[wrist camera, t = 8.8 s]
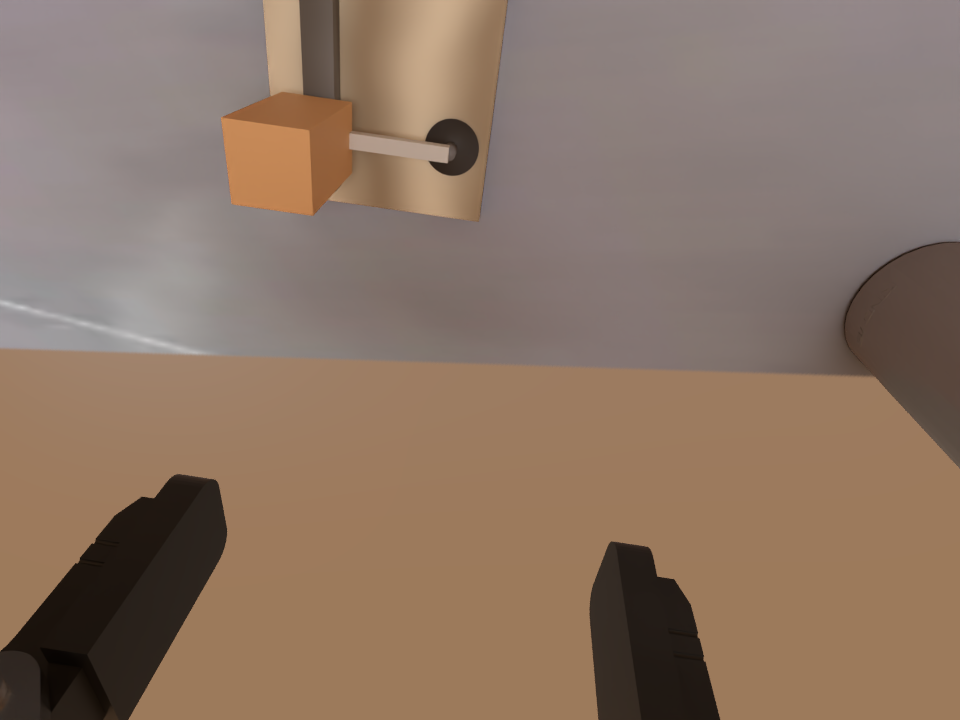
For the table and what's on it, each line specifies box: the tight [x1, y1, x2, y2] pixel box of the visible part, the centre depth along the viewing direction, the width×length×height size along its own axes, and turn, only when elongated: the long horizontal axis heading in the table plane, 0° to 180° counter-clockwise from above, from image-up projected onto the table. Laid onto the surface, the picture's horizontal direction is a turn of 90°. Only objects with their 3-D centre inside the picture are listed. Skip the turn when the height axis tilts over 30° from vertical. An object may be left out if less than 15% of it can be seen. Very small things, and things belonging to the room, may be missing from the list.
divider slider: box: [221, 92, 457, 216], centre depth 27 cm, size 9×4×8 cm, turn 83°
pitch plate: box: [263, 0, 508, 222], centre depth 24 cm, size 12×20×10 cm, turn 173°
